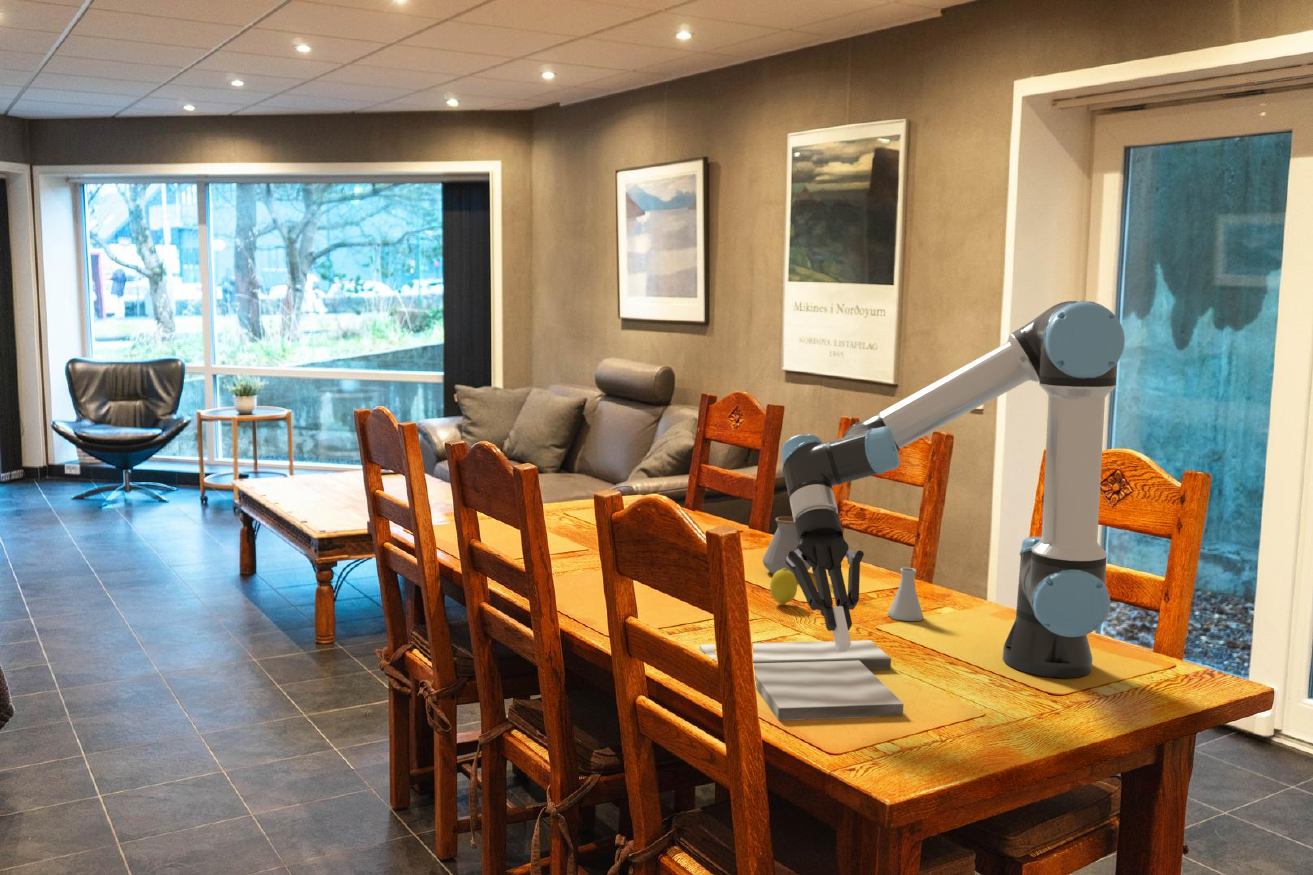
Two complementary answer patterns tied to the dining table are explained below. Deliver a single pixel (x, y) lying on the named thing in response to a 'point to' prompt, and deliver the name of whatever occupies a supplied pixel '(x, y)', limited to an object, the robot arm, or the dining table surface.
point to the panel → (824, 690)
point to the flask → (906, 599)
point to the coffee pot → (782, 546)
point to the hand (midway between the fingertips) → (844, 648)
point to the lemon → (783, 586)
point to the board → (815, 653)
